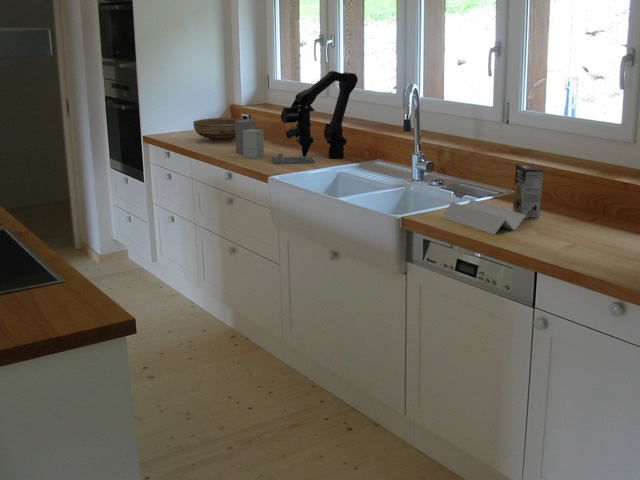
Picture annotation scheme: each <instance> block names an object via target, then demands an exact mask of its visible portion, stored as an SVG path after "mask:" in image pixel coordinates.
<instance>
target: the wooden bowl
mask: <svg viewBox="0 0 640 480" xmlns="http://www.w3.org/2000/svg"><path fill="white" fill-rule="evenodd" d="M237 120H245V119H244V118H243V119H242V118H236V117H235V118H232V117H221V118H220V117H216V118H215V117H214V118H212V117H211V118H204V119H203V118H202V119H196V120H194V121H193V123H192V124H193V129H194V131H195V132H196V134H198V135H199V136H201V137H203V138H206V139H208V142H212V143H228V142H232V141H234V139H236V137H235V121H237Z"/></svg>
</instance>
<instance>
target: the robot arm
mask: <svg viewBox="0 0 640 480" xmlns="http://www.w3.org/2000/svg"><path fill="white" fill-rule="evenodd" d="M358 80H359V78H358V76H357V74H356V73H353V72H346V71H345V72H338V71H336V70H335V71H334V70H330V71H329V72H327V74H326V75H324V76H323V77H322V78H321V79H319V80H318V81H317V82H316V83H314V84H313V85H312V86H311V87H309V88H307V89H304V90H302V91H300V92H298V93H297V94H296V95H295V99H294V101H293V102H292V104H291V106H290V107H284V106H283V108H282V111H281V113H280V119H281V122H282V123H283V124H290V123H296V126H294V127H291V128H288V129H287V130H284V133H285V136H286V138H287V140H289V139H292V138H295V139H296V141H297V143H298V144H299V146H300V145H301V147H302V152H303V157H306V155H307V153H308V152H309V149H310V147H311V146H312V144H313V143H314V138H313V136H312V133H311V128H312V124H311V112H314V111H316V110H315V109H314V107H313V106H312V104H313V103H314V102H315V101H316V98H317V97H318V96H319V95H320V94H321V93H322V92H323V91H325V90H326V89H327V88H329V87H330V86H331V85H332V84H333V83H335V82H338V87H339V93H338V96H337V99H336V104H335V108H334V111H333V114H332V117H331V121H330V122H329V123H325V127H324V129H323V137H324V138H325V139H326V143H327V144H329V145H328V147H327V154H328V155H327V156H328V157H329V158H330V159H344V158H345V155H344V154H345V153H344V152H345V151H344V148H345V147H344V146H345V145H346V144H347V139H346V138H345V137H344V136H343V131H344V130H343V120H344V116H345V113H346V111H347V107H348V102H349V99H350V95H351V93H352V92H353V90H354V89H355V88H356V85H357V83H358V82H359V81H358ZM308 154H309V153H308Z"/></svg>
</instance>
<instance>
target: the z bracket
mask: <svg viewBox="0 0 640 480" xmlns="http://www.w3.org/2000/svg"><path fill="white" fill-rule="evenodd" d="M525 216H526V215H524V214H521V213H517V212H514V211H513V210H509V209H506V208H504V207H503V208H502V207H499V206H496V205H493V204H489V203H485V202H483V201H480V200H479V201H478V200H475V199H470V200H469V201H468V203H467V204H466V205H463V204H459V203H457V202H456V203H455V202H451V203H450V204H449V205H448V207H447V208H446V210H445V211H444V212H443V213H442V215H441V216H440V217H441V218H443V219H446V220H450V221H453V222H456V223H459V224H462V225H464V226H467V227H471V228H474V229H476V230H479V231H482V232H485V233H488V234H492V235H496V233H497V232H498V231H499V230H500V228H505V229H507V230H511V231H516V230H517V229H518V228H519V226H520V224H521V223H522V222H523V220H524V219H526V218H525Z"/></svg>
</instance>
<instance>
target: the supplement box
mask: <svg viewBox="0 0 640 480" xmlns="http://www.w3.org/2000/svg"><path fill="white" fill-rule="evenodd" d="M264 138H265V137H264V129H257V128H256V129H248V130H245V131H243V152H244V154H243V159H245V158H246V159H261V158H263V157H265V141H264V140H265V139H264Z"/></svg>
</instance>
